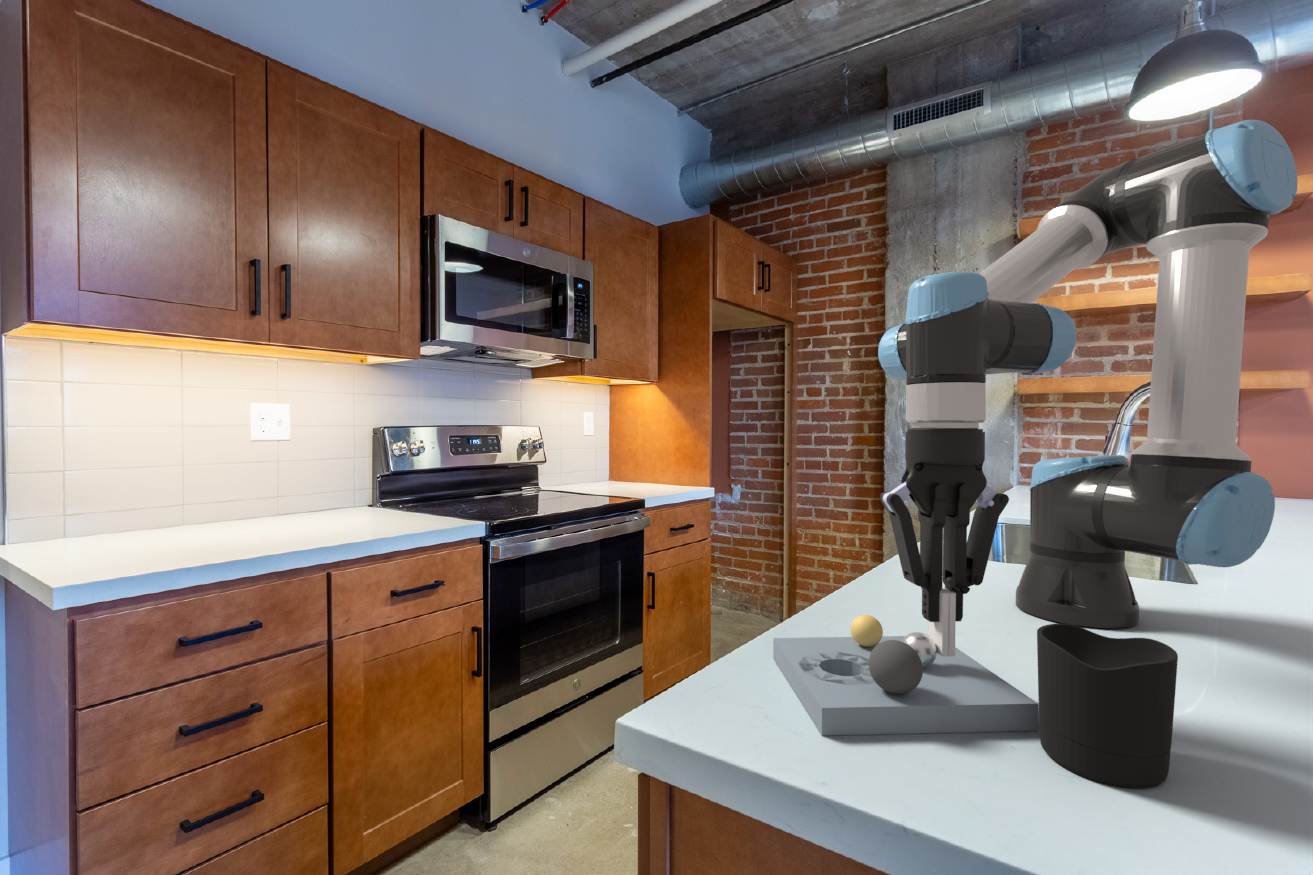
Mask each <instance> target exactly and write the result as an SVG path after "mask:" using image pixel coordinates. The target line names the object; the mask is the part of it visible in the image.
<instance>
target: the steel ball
mask: <svg viewBox="0 0 1313 875" xmlns="http://www.w3.org/2000/svg"><path fill="white" fill-rule="evenodd" d="M904 636H905V637H904V639H903V640H902V642H904V643H906V644H908V645H909V646H911V647H912V648H913V649H914V650H915V651H916V652H917V654H918V655H919V657H920V659H921V662H922V666H923V667H927V666H929V665H931V664H932V663H933V662H934V661H935V659H936V656H937V648H936V645H935V643H934V641H933V640H932V639H931V638H930V637H929V634H928V635H927V634H925V633H923V632H920V631H917V632H916V631H915V632H914V631H913V632H910V633H908V634H906V635H904Z"/></svg>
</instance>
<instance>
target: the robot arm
mask: <svg viewBox="0 0 1313 875" xmlns="http://www.w3.org/2000/svg"><path fill="white" fill-rule="evenodd" d="M1298 184H1299V183H1298V171H1297V167H1296V162H1295V158H1294V156H1293V153H1292V151H1291V148H1290V146H1289V145H1288V143H1287V142H1286V140H1285V139H1284V136H1282V134H1281V133H1280V132H1279V130H1277V129H1276V128H1275V127H1273V126H1272V125H1271V124H1269V123H1268V122H1266V121H1263V120H1259V119H1246V120H1245V119H1244V120H1241V121H1238V122H1236V123H1231V124H1229V125H1225V126H1223V127H1218V128H1212V129H1209V130H1208V131H1207V132H1205V133H1202V134H1200V135H1197V136H1195V137H1192V138H1188V139H1186V140H1184V141H1181V142H1178V143H1175V144H1172V145H1170V146H1167V147H1164V148H1161V149H1158V150H1156V151H1154V152H1151V153H1148V154H1145V155H1142V156H1139V157H1136V158H1134V159H1130V160H1128V161H1124V162H1123V163H1120V164H1119V165H1116V166H1115V167H1112V168H1110V169H1109V170H1107V171H1105V172H1103V173H1101V174H1100V175H1099V176H1097V177H1095V178H1093V179H1092V180H1090V182H1088V183H1086V184H1085V185H1083V186H1082V187H1080V188H1079V189H1078V190H1076V191H1075V192H1074V193H1072V194H1071V195H1069V196H1068V197H1067V198H1065V199H1064V200H1063V201H1061V202H1060V203H1058V204H1057V205H1056V206H1055V207H1053V208H1052V209H1051V210H1050V211H1048V212H1047V213H1046V214H1045V215H1044V216H1043V217H1042V218H1041V220H1040V221H1039V223H1038V225H1037V228H1036V230H1035V231H1033V232H1032V233H1031V234H1029V235H1028V236H1027V237H1025V238H1024V239H1023V240H1022V241H1021V242H1019V243H1017V244H1016V245H1014V247H1012V248H1011V249H1009V251H1007V252H1006V253H1005V254H1003V255H1002V256H1001V257H999V258H998V259H997V260H996V261H995V260H994V261H993V262H992V263H991V264H990V265H989V266H987V267H986V268H985V269H984V270H983V271H981V272H980V273H979V272H975V271H949V272H940V273H935V274H930V275H926V276H923V277H920V278H918V279H916V280H915V281H913V282H912V283H911V285H910V287H908V288H909V289H908V293H907V294H908V295H907V300H906V301H907V302H906V315H905V320H904V322H903V323H901V324H900V325H896V326H893V327H891V328H889V329H888V330H887V331H885V333H884V334H883V336H882V337H881V339H880V341H879V343H878V349H877V350H878V351H877V353H878V354H877V355H878V359H879V360H878V361H879V364H880V366H881V368H882V369H883V371H884V373H885V374H886V375H887V376H889V377H890V378H892V379H895V380H897V381H906V386H905V421H906V422H907V423H911V428H907V431H905V432H904V433H905V445H904V449H905V452H904V453H905V454H904V459H905V466H906V467H905V470H904V473H903V474H902V477H901V484H900V485H898V486H896V487H895V488H893V489H892V490H891V491H890V492H888V491H883V492H881V493H880V495H879V500H880V502H881V504H882V505H883V507H884V508H885V510H886V511H887V513H888V516H889V519H890V524H891V528H892V532H893V536H894V540H895V544H896V550H897V553H898V557H899V562H900V566H901V571H902V574H903V578H904V579H905V580H906V581H908V582H910V583H912V584H913V585H914V586H916V587H920V588H921V614H922V617H923V618H924V619H925V620H927V621H928V623H929V624H928V625H929V626H928V636H929V637H930V638H931V639H932V640H933V641H934V643H935V645H936V648H937V653H938V654H939V655H941V656H955V647H956V622H962V620H963V617H964V611H963V610H964V595H966V594H968V593H969V592H970V590H971V588H970V587H971V586H980V585H981V584H983V582H984V579H985V578H984V577H985V574H986V570H987V566H988V562H989V558H990V554H991V550H992V545H993V543H994V538H995V535H996V529H997V526H998V524H999V523H998V522H999V519H1000V518H999V517H1000V516H1001V514H1002V513H1003V511H1004V510H1005V508H1006V506H1007V505H1008V503H1009V501H1010V498H1009V496H1008V494H1005V493H1001V492H997V491H996V490H995V489H993V488H992V487H990V486H989V485H988V480H987V477H986V476H985V474H984V471H983V465H984V462H985V460H986V458H985V457H986V431H984V429H983V428H980V426H979V424H980V423H984V422H985V421H986V420H987V416H986V415H987V413H986V412H987V410H986V407H987V406H986V405H987V404H986V402H987V400H986V396H987V395H986V382H987V381H986V380H987V377H986V376H987V375H995V374H997V375H998V374H1009V373H1010V374H1011V373H1012V374H1013V373H1020V374H1023V375H1029V374H1033V375H1034V374H1037V373H1038V374H1040V373H1041V374H1042V373H1048V372H1053V371H1055V370H1056V369H1058V368H1060V367H1061V366H1062V365H1064V364H1065V363H1066V362H1067V361H1068V360H1069V359H1070V358H1071V355H1072V354H1073V352H1074V349H1075V348H1076V345H1077V344H1076V343H1077V329H1076V325H1075V322H1074V320H1073V319H1072V318H1071V316H1070V315H1069V314H1068V312H1066V311H1064V310H1063V309H1061V308H1059V307H1055V306H1049V305H1045V304H1044V303H1040V302H1035V301H1036V300H1038V298H1040V297H1041V296H1043V295H1044V294H1046V292H1047V291H1049V290H1050V289H1051V288H1053V286H1055V285H1057V284H1058V283H1059V282H1060V281H1061V280H1062V279H1064V278H1065V277H1067V275H1069V274H1071V272H1073V271H1074V270H1079V269H1082V268H1083V269H1084V268H1087V267H1089V266H1091V265H1092V264H1094V263H1095V262H1097V261H1099V259H1101V258H1102V257H1104V256H1106V255H1109V254H1111V253H1114V252H1118V251H1121V250H1124V249H1127V248H1132V247H1136V246H1141V245H1145V248H1146V250H1147V251H1148V252H1150V253H1151V254H1152V255H1153V256H1155V257H1156V258H1158V260H1159V261H1158V262H1159V263H1158V264H1159V265H1158V277H1157V278H1158V279H1157V292H1156V303H1155V304H1156V306H1155V308H1156V309H1155V318H1154V319H1155V321H1154V334H1153V336H1154V337H1153V348H1152V363H1151V375H1150V377H1151V378H1150V388H1149V389H1150V390H1149V391H1150V392H1149V404H1148V418H1147V419H1148V421H1147V433H1146V439H1145V441H1144V443H1142V444H1141V445H1140V446H1137V447H1136V448H1134V450H1132V451H1131V456H1130V465H1129V461H1128V460H1127V457H1126V456H1124V455H1123V454H1117V455H1116V454H1115V455H1111V454H1108V455H1094V456H1093V455H1089V456H1077V457H1075V456H1073V457H1072V456H1071V457H1060V458H1050V459H1047V458H1046V459H1043V460H1039V461H1038V462H1037V463H1035V464H1034V465H1033V468H1032V471H1031V481H1030V486H1029V491H1030V496H1029V498H1030V501H1029V503H1030V504H1029V505H1030V506H1029V507H1030V509H1029V512H1030V513H1029V514H1030V515H1029V517H1030V518H1029V523H1030V524H1029V526H1030V527H1029V529H1030V530H1029V534H1030V535H1029V556H1028V560H1027V562H1026V565H1025V567H1024V569H1023V572H1022V573H1021V577H1020V580H1019V582H1018V585H1017V587H1016V589H1015V606H1016V607H1017V608H1018V609H1019V610H1021V611H1023V612H1025V613H1026V614H1028V615H1032V616H1035V617H1038V618H1040V619H1044V620H1048V621H1053V622H1058V623H1060V624H1071V625H1075V626H1078V627H1086V628H1096V629H1097V628H1098V629H1100V628H1101V629H1123V628H1124V629H1125V628H1131V627H1135V626H1136V625H1138V624H1139V623H1140V604H1139V602H1138V601H1137V599H1136V595H1135V592H1134V589H1133V586H1132V582H1131V580H1130V577H1129V575H1128V571H1127V569H1126V565H1125V564H1126V563H1125V561H1126V560H1125V559H1126V552H1128V553H1134V554H1139V555H1144V556H1145V555H1146V556H1151V557H1155V558H1160V559H1161V558H1162V559H1168V560H1172V561H1177V562H1182V563H1183V564H1185V565H1200V566H1208V567H1209V566H1210V567H1215V568H1216V567H1217V568H1231V567H1235V566H1238V565H1241V564H1242V563H1243V564H1244V563H1245V562H1246V561H1248V560H1250V559H1251V558H1252V557H1253V556H1254V555H1255V553H1256V552H1257V551H1258V550H1259V549H1260V548H1261V547H1262V545H1263V544H1264V542H1265V540H1266V539H1267V537H1268V536H1269V535H1268V534H1269V532H1270V530H1271V527H1272V524H1273V520H1274V516H1275V509H1276V498H1275V495H1274V494H1273V493H1272V492H1273V487H1272V485H1271V483H1270V482H1269V480H1268V479H1267V478H1265V477H1264V476H1262V475H1260V474H1257V473H1256V472H1253V471H1252V457H1250V456H1249V455H1248V454H1247V453H1246V452H1245V451H1244V450H1242V449H1241V447H1239V445H1238V444H1237V443H1236V442H1237V430H1238V416H1239V401H1240V391H1241V390H1240V389H1241V387H1240V385H1241V373H1242V360H1243V359H1242V358H1243V346H1244V333H1245V332H1244V331H1245V330H1244V329H1245V317H1246V316H1245V315H1246V302H1247V289H1248V274H1249V261H1250V260H1249V259H1250V251H1251V250H1252V249H1253V247H1255V246H1256V245H1257V244H1258V243H1260V242H1261V241H1262V240H1263V239H1265V238H1266V237H1267V236H1268V234H1269V224H1270V223H1269V221H1270V216H1273V215H1277V214H1280V213H1281V212H1282V211H1285V210H1286V209H1289V208H1290V207H1291V205H1292V204H1293V201H1294V199H1295V198H1296V196H1297V192H1298ZM909 498H910V500H911V501H912V503H914V506H915V507H916V509H917V519H918V521H919V524H920V527H919V546H918V540H917V536H916V531H915V528H914V524H913V520H912V516H911V512H910V511H909V508H908V507H909V506H910V505H911V504H910V501H909ZM975 503H976V504H977V505H976V508H975V510H974V513H973V515H972V516H973V517H972V520H971V509H972V507H973V506H974V504H975ZM970 520H971V525H970ZM969 525H970V528H969V533H968V526H969ZM967 534H968V535H967ZM967 536H968V537H967ZM943 585H944V586H943Z"/></svg>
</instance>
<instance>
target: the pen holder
mask: <svg viewBox="0 0 1313 875" xmlns="http://www.w3.org/2000/svg"><path fill="white" fill-rule="evenodd" d="M1036 642H1037V646H1036V648H1037V650H1036V651H1037V688H1038V691H1037V692H1038V695H1037V696H1038V726H1039V738H1040V741H1039V742H1040V745H1041V747H1042V749H1043V750H1044V751H1045V753H1046V754H1047V756H1048V757H1049V759H1051V760H1052V761H1053V762H1054V763H1056V764H1058V765H1059V766H1061V767H1063V768H1064V769H1065V770H1068V771H1070V772H1072V773H1073V774H1075V775H1078V776H1081V777H1083V778H1084V779H1085V778H1086V779H1088V780H1091V781H1094V782H1097V783H1100V784H1106V785H1109V786H1113V787H1118V788H1125V789H1150V788H1155V787H1158V786H1159V785H1161V784H1162V783H1163V782H1165V781H1166V779H1167V778H1168V775H1169V772H1170V771H1169V770H1170V763H1171V762H1170V761H1171V752H1172V750H1171V749H1172V744H1173V743H1172V740H1173V729H1174V728H1173V727H1174V714H1175V702H1176V701H1175V700H1176V688H1177V687H1176V686H1177V672H1178V660H1179V656H1178V652H1177V650H1175V649H1174V648H1173V647H1171V646H1169V645H1167V644H1166V643H1164V642H1162V641H1159V640H1156V639H1152V638H1149V637H1147V638H1146V637H1125V638H1124V637H1122V638H1120V637H1119V638H1118V637H1117V638H1116V637H1108V636H1104V635H1101V634H1098V633H1096V632H1093V631H1091V630H1088V629H1086V628H1083V627H1082V626H1078V625H1072V624H1066V623H1050V624H1044V625H1042V626H1039V627H1038V629H1037V630H1036Z"/></svg>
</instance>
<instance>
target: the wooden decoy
mask: <svg viewBox="0 0 1313 875" xmlns="http://www.w3.org/2000/svg"><path fill="white" fill-rule="evenodd" d="M850 635H851V637H853V639H854V640H855V641H856V642H857V643H858V644H860V645H862V646H865V647H871V646H875V645H876V644H878V643H879V642H880V640H881V639H882V636H883V635H884V630H883V626H882V624H881V622H880V621H879V620H878V619H877V618H876V617H874V616H872V615H870V614H861V615H858V616H857V617H855V618H854V619H853V620H852V622H851V624H850Z"/></svg>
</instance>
